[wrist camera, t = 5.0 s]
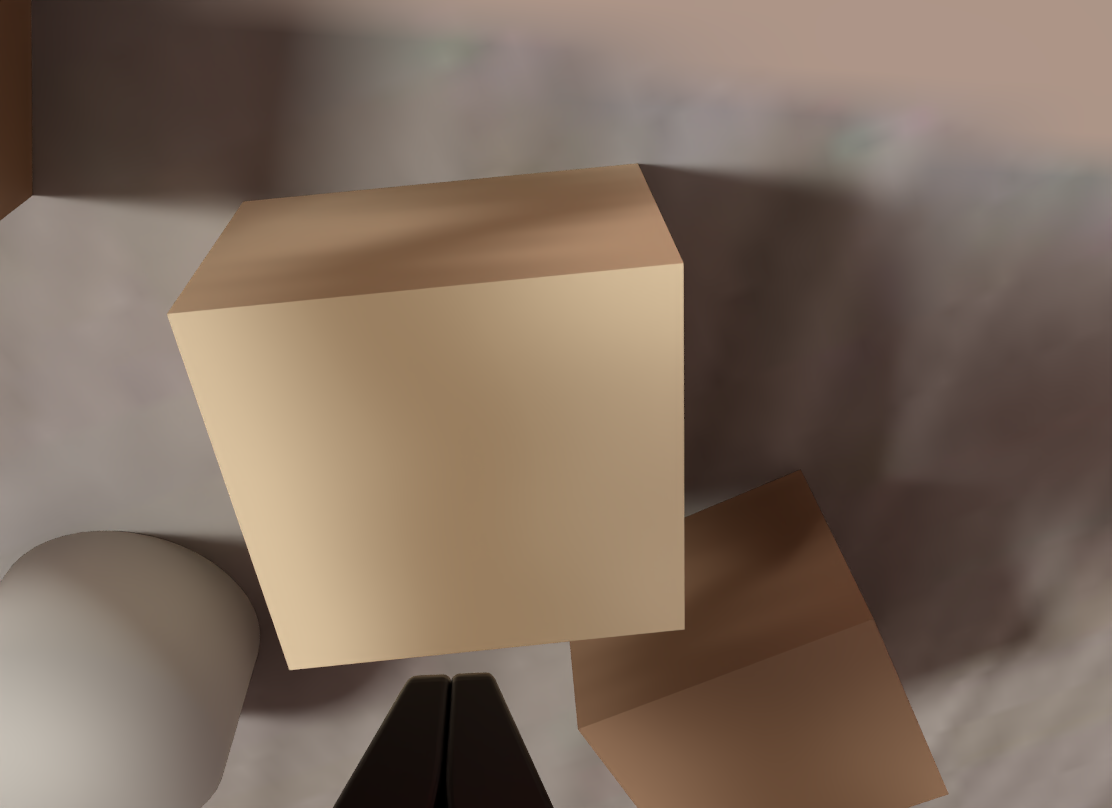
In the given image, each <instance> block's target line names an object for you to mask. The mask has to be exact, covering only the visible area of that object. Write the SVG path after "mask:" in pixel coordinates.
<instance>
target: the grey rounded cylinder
mask: <svg viewBox="0 0 1112 808" xmlns="http://www.w3.org/2000/svg"><path fill="white" fill-rule="evenodd" d="M259 646H260V628H259V622H258V619H257V616H256V613H255V610H254V608H253V606H252V604H251V602H250V600H249V598H248V597H247V596H246V594H245V593H244V592H243V590H242V589H241V587H240V586H239V585H238V584H237V583H236V582H235V581H234V580H233V579H232V578H231V577H230V576H229V575H228V574H227V573H225V572H224V571H223V570H222V569H220V568H219V567H218V566H217V565H215V564H214V563H212V562H211V561H209V560H208V559H206V558H205V557H203V556H201V555H199V554H197V553H195V552H193V551H191V550H189V549H187V548H185V547H182V546H180V545H177V544H175V543H172V542H170V541H166V540H163V539H160V538H156V537H153V536H148V535H143V534H138V533H131V532H121V531H91V532H80V533H75V534H70V535H65V536H62V537H59V538H55V539H52V540H49V541H47V542H45V543H43V544H41V545H39V546H36V547H35V548H33V549H32V550H30V551H29V552H27V553H26V554H24V555H23V556H22V557H20V558H19V559H18V560H17V561H16V562H15V563H14V564H13V565H12V567H11V568H10V569H9V571H8V572H7V573H6V575H5V576H4V578H3V579H2V581H1V582H0V808H201V807H202V806H203V805H204V804H205V803H206V802H207V801H208V800H209V799H210V798H211V796H212V795H213V794H214V792H215V791H216V790H217V788H218V786H219V783H220V781H221V779H222V776H223V773H224V769H225V766H226V762H227V759H228V755H229V752H230V748H231V745H232V741H233V738H234V734H235V731H236V728H237V724H238V721H239V717H240V714H241V710H242V707H243V703H244V700H245V696H246V693H247V689H248V686H249V682H250V679H251V676H252V672H253V669H254V665H255V662H256V658H257V655H258V650H259Z"/></svg>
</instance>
